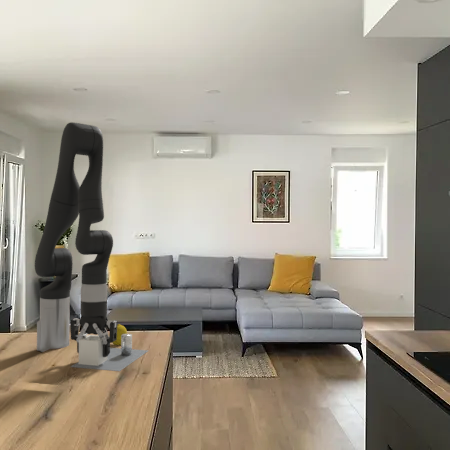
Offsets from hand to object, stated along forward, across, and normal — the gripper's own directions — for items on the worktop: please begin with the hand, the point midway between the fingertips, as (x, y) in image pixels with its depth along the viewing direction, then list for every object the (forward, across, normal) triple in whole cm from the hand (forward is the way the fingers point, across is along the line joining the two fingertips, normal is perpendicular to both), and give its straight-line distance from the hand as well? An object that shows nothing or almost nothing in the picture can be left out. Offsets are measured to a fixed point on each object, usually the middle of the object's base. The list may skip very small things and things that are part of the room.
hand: (93, 355), depth 145 cm
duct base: (+3, +3, +5) cm, 7 cm away
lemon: (+4, -2, +22) cm, 22 cm away
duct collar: (+2, 0, 0) cm, 2 cm away
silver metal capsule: (+2, +6, +10) cm, 12 cm away
